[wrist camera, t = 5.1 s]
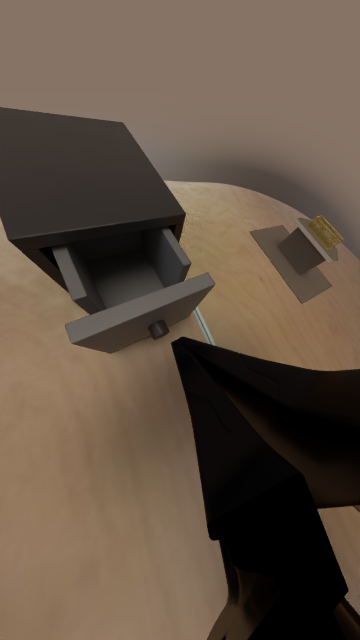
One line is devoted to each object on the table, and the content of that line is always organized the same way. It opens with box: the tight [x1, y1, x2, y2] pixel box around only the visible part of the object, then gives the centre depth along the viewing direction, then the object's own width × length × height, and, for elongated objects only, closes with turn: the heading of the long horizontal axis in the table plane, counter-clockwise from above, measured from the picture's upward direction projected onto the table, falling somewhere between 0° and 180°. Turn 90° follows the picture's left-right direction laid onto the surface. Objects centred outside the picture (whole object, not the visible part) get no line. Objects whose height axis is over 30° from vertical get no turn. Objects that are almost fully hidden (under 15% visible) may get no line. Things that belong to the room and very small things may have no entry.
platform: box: [250, 216, 344, 304], centre depth 24 cm, size 12×18×7 cm, turn 27°
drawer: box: [51, 226, 215, 354], centre depth 12 cm, size 13×10×7 cm
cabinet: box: [0, 107, 186, 294], centre depth 14 cm, size 13×11×9 cm
